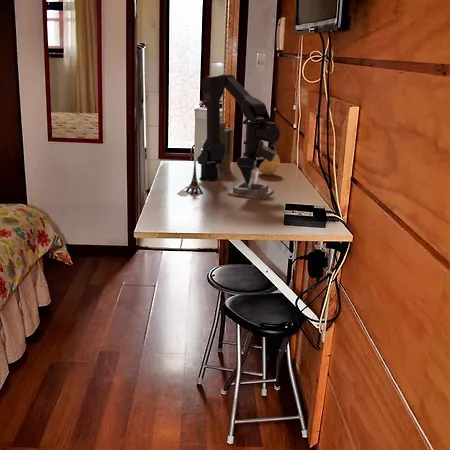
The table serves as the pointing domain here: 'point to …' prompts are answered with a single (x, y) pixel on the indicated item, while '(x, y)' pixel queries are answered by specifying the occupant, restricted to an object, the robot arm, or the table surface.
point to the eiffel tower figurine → (192, 186)
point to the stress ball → (270, 166)
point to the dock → (251, 191)
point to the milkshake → (253, 179)
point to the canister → (226, 147)
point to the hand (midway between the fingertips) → (251, 180)
